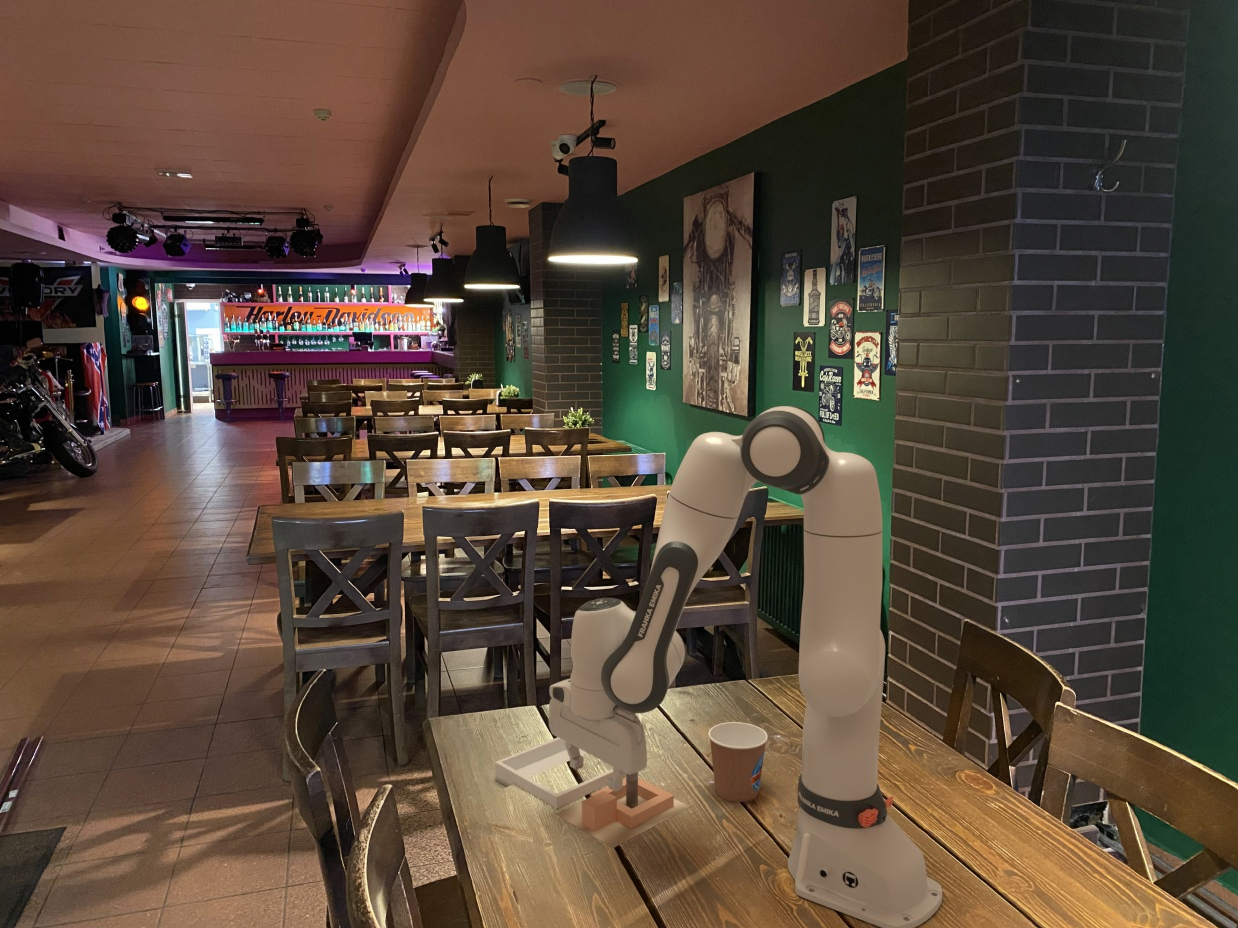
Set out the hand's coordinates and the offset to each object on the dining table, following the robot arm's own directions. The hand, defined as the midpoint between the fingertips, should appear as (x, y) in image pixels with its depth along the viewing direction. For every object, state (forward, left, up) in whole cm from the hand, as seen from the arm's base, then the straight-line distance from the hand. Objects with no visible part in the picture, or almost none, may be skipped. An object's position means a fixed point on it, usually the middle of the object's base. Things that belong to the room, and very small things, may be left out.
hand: (595, 777), depth 145 cm
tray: (+16, -9, -9) cm, 21 cm away
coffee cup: (-10, -25, -9) cm, 28 cm away
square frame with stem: (-1, -5, -8) cm, 9 cm away
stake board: (-1, -6, -9) cm, 11 cm away
